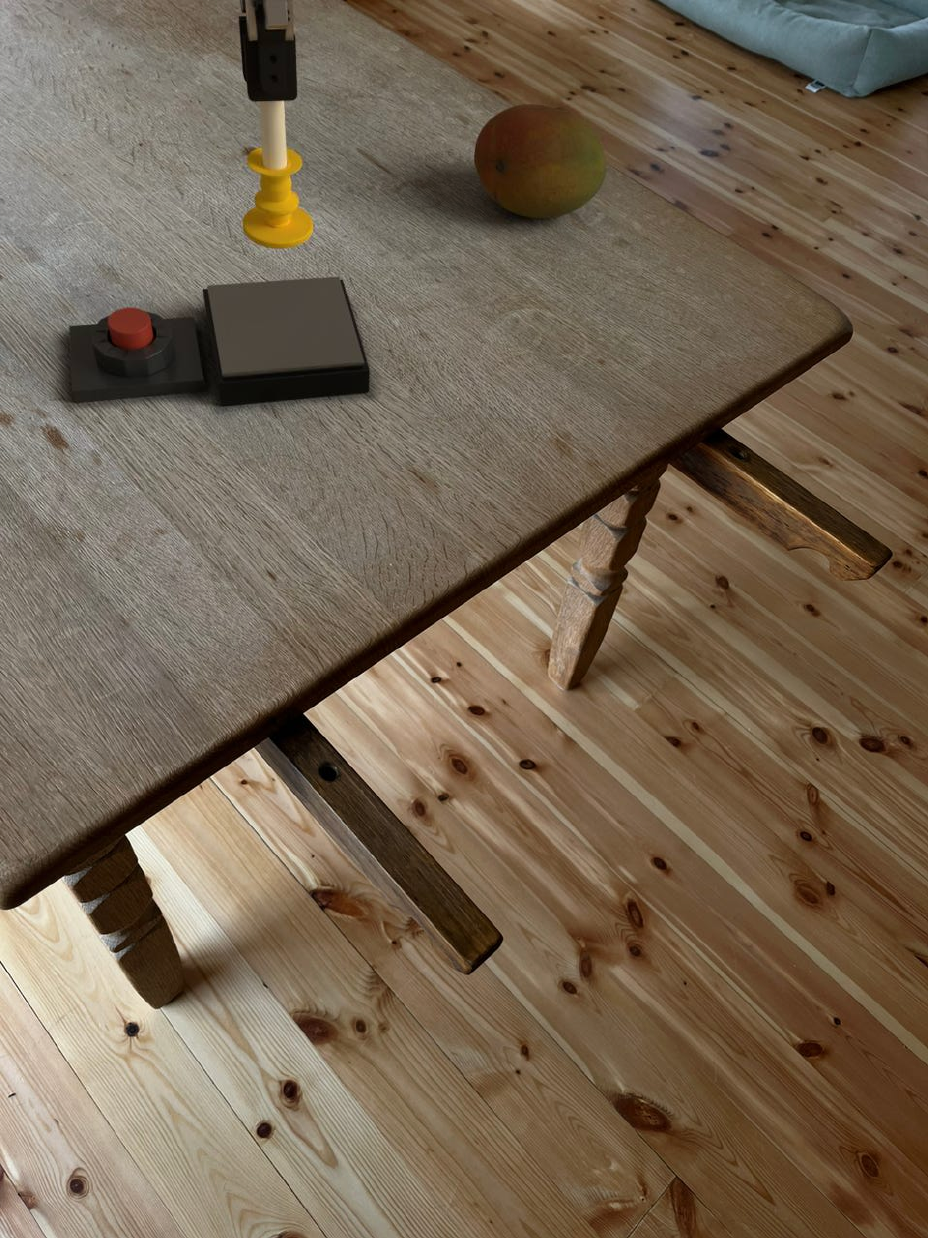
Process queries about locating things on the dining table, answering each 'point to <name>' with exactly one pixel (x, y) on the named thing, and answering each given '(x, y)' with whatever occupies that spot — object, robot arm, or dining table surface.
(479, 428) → the dining table surface
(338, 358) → the scale
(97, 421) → the dining table surface
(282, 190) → the candle
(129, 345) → the button
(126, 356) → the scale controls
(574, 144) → the fruit
